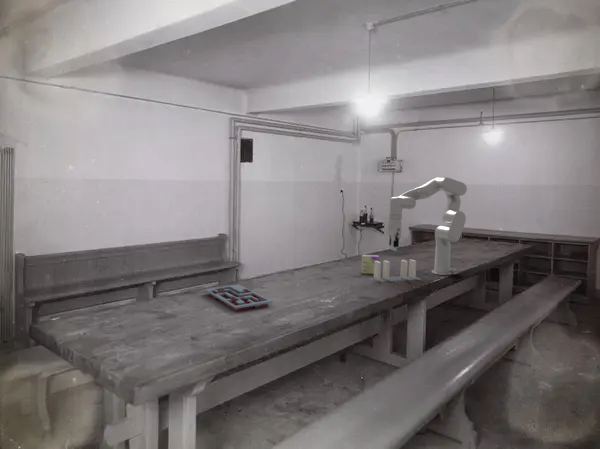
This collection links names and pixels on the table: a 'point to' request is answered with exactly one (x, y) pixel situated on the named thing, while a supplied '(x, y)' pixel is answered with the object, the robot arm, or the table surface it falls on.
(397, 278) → the mat
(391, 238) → the domino
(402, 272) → the domino
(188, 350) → the table surface
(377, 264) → the domino
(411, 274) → the domino
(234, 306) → the maze game
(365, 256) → the box
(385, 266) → the domino
